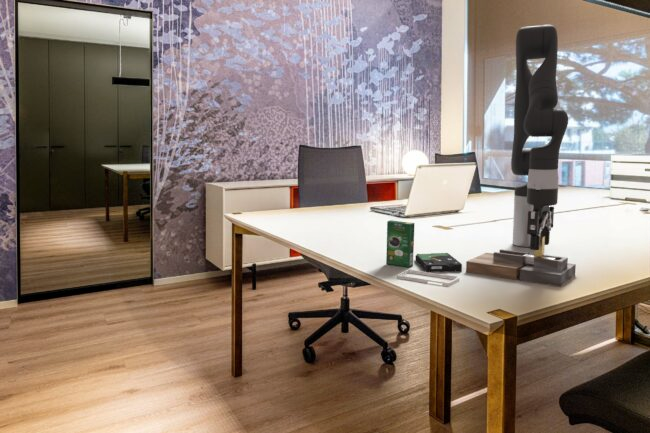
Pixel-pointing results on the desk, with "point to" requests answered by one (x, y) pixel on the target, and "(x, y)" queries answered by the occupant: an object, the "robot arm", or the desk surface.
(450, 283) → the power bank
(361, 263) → the desk surface
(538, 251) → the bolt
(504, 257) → the door and jamb
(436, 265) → the disk drive
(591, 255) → the desk surface
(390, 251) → the coffee box
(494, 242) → the desk surface
